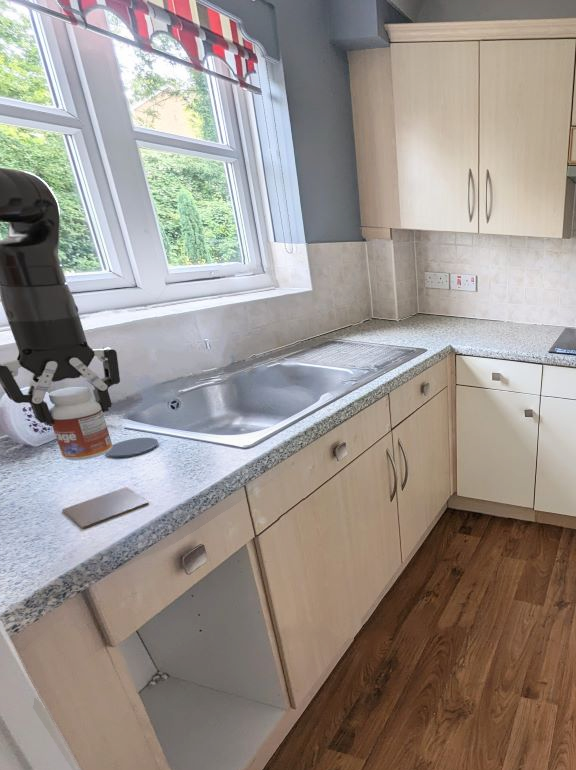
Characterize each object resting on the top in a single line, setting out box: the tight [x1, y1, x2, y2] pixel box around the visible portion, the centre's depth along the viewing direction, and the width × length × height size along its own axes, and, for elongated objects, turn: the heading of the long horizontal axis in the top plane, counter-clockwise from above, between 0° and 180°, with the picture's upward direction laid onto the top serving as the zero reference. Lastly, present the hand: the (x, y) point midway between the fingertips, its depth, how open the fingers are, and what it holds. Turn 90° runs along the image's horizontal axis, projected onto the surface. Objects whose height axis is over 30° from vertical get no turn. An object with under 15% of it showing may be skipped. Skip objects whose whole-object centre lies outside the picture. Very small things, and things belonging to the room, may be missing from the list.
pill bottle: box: [48, 386, 113, 461], centre depth 74 cm, size 6×6×11 cm
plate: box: [104, 437, 159, 459], centre depth 100 cm, size 9×9×1 cm
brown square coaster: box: [61, 486, 150, 530], centre depth 80 cm, size 9×9×1 cm
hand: (77, 416), depth 74 cm, fingers closed on pill bottle, 6 cm apart
